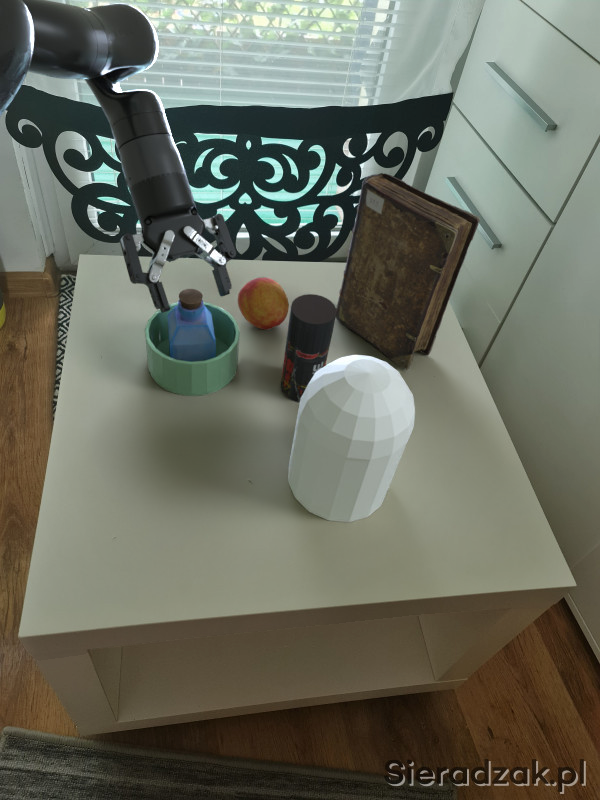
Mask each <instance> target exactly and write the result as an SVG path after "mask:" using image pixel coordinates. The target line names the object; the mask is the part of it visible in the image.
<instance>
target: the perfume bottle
mask: <svg viewBox="0 0 600 800" xmlns="http://www.w3.org/2000/svg"><path fill="white" fill-rule="evenodd" d="M203 296H204V295H203V293H202V292H201V291H200V290H198V289H195V288H185V289H182V290H181V291H180V292H179V293H178V301H177V303H178V306H175V307H174V308H173V309H172V311H171V312H170V313H169V314H168V315H167V316H168V334H169V350H170V357H171V358H174V359H176V360H182V361H189V362H195V361H206V360H209V359H212V358H215V357H216V340H215V334H214V328H213V322H212V316H211V313H210V311H209V310H208V309H207V308H206V307H205V306H204V300H203V298H204V297H203Z"/></svg>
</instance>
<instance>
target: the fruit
mask: <svg viewBox="0 0 600 800" xmlns="http://www.w3.org/2000/svg"><path fill="white" fill-rule="evenodd" d="M237 305H238V308H239V311H240V312H241V315H242V316H243V318H244V319H245V320H246V321H247V322H248V323H249V324H250V325H251V326H253V327H255V328H257V329H261V330H266V331H268V330H271V329H273V328H275V327H278V326H280V325H281V324H282V323H283V322H284V321H285V320H286V318H287V316H288V313H289V307H290V304H289V299H288V296H287V294H286V292H285V290H284V288H283V287H282V285H281V284H280V283H279V282H277V281H276V280H274V279H272V278H269V277H264V276H263V277H262V276H261V277H257V278H253V279H251V280H249V281H248V282H247V283H245V284H244V285H243V286H242V287H241V288H240V290H239V292H238V294H237Z"/></svg>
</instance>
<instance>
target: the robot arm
mask: <svg viewBox="0 0 600 800" xmlns="http://www.w3.org/2000/svg"><path fill="white" fill-rule="evenodd" d="M158 53H159V39H158V35H157V32H156V30H155V27H154V26H153V24H152V23H151V21H150V20H149V18H148V17H147V16H146V15H145V14H144V13H143V12H142V11H141V10H139V9H138V8H137V7H135V6H133V5H130V4H126V3H110V4H103V5H96V6H93V7H86V8H85V7H81V6H77V5H73V4H68V3H63V2H58V1H52V0H0V117H1V116H2V115H3V114H4V112H5V111H6V110H7V109H8V107H9V106H10V104H11V103H12V101H13V100H14V99H15V97H16V96H17V93H18V92H19V90H20V89H21V88H22V85H23V83H24V81H25V79H26V77H27V74H28V73H33V74H36V75H41V76H45V77H49V78H53V79H54V78H55V79H61V80H62V79H63V80H84V81H85V83H86V85H87V86H88V87H89V89H90V91H91V92H92V93H93V95H94V97H95V99H96V100H97V102H98V104H99V106H100V108H101V110H102V112H103V113H104V115H105V117H106V119H107V121H108V123H109V126H110V130H111V133H112V136H113V139H114V142H115V145H116V149H117V151H118V155H119V159H120V164H121V169H122V173H123V175H124V181H125V185H126V187H127V188H128V191H129V194H130V197H131V200H132V203H133V207H134V209H135V213H136V216H137V219H138V222H139V224H140V227H141V232H140V233H135V234H132V233H130V232H126V233H124V235H123V236H122V237H121V238H120V240H119V244H120V248H121V252H122V255H123V259H124V263H125V266H126V270H127V274H128V277H129V281H130V283H131V284H134V285H137V284H140V285H145V286H146V287H147V289H148V291H149V295H150V297H151V300H152V303H153V306H154V308H155V309H156V310H160V311H161V312H162V313H164V312H167V311H169V310H170V306H169V305H170V303H169V300H168V297H167V294H166V291H165V289H164V285H163V282H162V281H160V280H159V279H160V276H161V274H162V271H163V268H164V266H165V264H166V262H168V263H170V262H174V261H177V260H178V259H188V258H191V257H193V256H194V255H195V256H196V257H197V258H199V259H200V260H203V261H205V262H206V263H207V264H208V265H209V266H211V267H212V268H213V269H212V270H211V272H212V275H213V278H214V282H215V284H216V285H215V286H216V288H217V291H218V294H219V296H220V297H221V298H222V297H225V296H228V295H230V293H231V292H230V290H232V281H231V278H230V274H229V272H228V269H227V263H228V262H230V261H231V260H232V259H234V258H235V257H237V250H236V247H235V245H234V243H233V239H232V236H231V234H230V232H229V228H228V226H227V223H226V220H225V218H224V215H223V214H222V213H217V214H215V215H213V216H212V217H208V218H205V219H202V217H201V216H200V215H199V213H198V208H197V205H196V202H195V199H194V196H193V192H192V189H191V186H190V183H189V179H188V176H187V173H186V169H185V167H184V164H183V160H182V157H181V154H180V152H179V149H178V148H177V145H176V143H175V141H174V138H173V136H172V135H173V134H172V131H171V128H170V125H169V122H168V119H167V116H166V113H165V108H164V106H163V103H162V101H161V99H160V97H159V96H158V94H156V92H154V91H152V90H149V89H131V90H126V91H122V89H121V87H120V82H122V81H124V80H127V79H128V78H131V77H132V76H135V75H136V74H139V73H142V72H143V71H145V70H148V69H149V68H151V67H152V66H153V64H154V63H155V62H156V60H157V57H158ZM205 229H206V230H207V231H208V232H209V234H210V235H213V237H214V240H215V242H216V245H217V248H218V250H216V249H215V246H213V245H212V244H211V243H210V242H208V240H206V239H205V238H204V233H205ZM141 243H143V245H145V246H146V247H147V248H148V249H150V250H151V251H152V252H153V253H152V256H151V258H150V261H149V264H148V268H147V272H144V271H143V269H142V268H143V267H142V264H141V261H140V257H139V254H138V253H139V251H140V250H141V247H142V246H141Z"/></svg>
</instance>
